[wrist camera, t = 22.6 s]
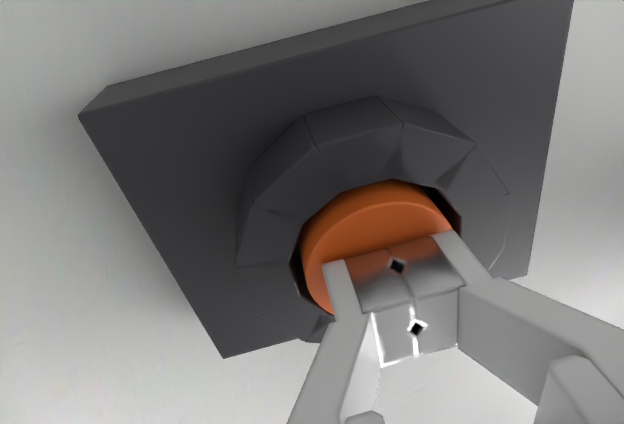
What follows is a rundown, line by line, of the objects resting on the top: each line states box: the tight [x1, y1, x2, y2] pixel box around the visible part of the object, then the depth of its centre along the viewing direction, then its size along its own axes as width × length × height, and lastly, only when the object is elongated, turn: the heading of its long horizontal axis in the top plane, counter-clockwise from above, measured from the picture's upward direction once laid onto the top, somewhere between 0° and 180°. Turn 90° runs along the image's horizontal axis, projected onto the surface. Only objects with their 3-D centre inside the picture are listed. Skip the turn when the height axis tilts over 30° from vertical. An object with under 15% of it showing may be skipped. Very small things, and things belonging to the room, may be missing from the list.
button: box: [297, 178, 453, 315], centre depth 9 cm, size 4×4×2 cm
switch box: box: [78, 0, 574, 359], centre depth 11 cm, size 11×9×4 cm
